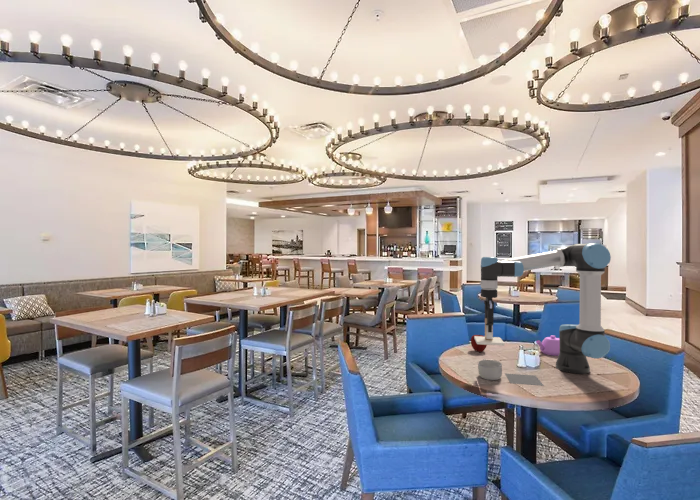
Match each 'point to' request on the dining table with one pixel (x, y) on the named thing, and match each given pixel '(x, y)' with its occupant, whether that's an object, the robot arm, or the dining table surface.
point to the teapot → (550, 345)
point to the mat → (523, 379)
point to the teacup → (490, 369)
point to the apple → (477, 346)
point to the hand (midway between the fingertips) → (488, 337)
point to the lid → (485, 341)
